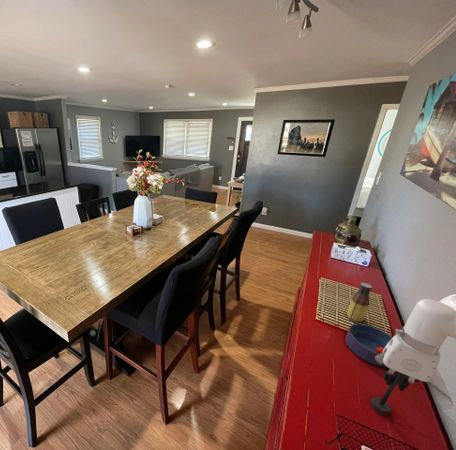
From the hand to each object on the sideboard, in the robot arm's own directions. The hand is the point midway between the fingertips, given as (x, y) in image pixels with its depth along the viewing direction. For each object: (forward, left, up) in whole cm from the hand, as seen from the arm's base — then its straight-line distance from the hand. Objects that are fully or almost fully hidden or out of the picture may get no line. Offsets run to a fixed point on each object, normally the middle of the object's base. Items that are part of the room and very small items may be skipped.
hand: (393, 383), depth 75 cm
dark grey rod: (0, 0, -12) cm, 12 cm away
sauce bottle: (+35, -30, -12) cm, 48 cm away
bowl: (+19, -20, -12) cm, 30 cm away
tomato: (+16, -21, -10) cm, 29 cm away
